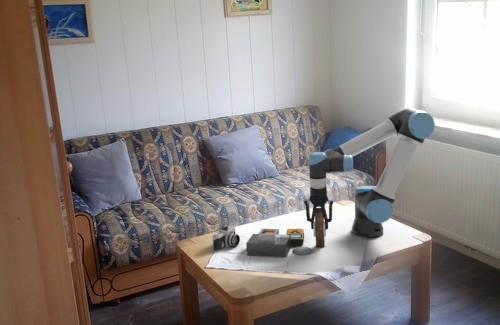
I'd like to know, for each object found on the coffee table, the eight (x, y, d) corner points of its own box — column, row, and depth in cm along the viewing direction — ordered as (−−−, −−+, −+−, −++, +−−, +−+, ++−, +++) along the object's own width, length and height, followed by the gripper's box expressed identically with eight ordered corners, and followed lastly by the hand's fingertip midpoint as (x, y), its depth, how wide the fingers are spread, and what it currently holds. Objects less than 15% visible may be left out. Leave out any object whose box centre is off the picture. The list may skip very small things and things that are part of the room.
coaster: (314, 247, 242) (314, 247, 242) (311, 255, 234) (311, 254, 234) (294, 247, 245) (294, 246, 245) (291, 254, 236) (291, 253, 236)
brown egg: (274, 242, 242) (274, 232, 241) (272, 246, 238) (272, 235, 237) (265, 242, 244) (265, 231, 243) (263, 245, 240) (262, 235, 238)
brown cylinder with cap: (325, 244, 245) (324, 207, 242) (324, 248, 242) (322, 210, 238) (316, 244, 247) (315, 207, 243) (315, 247, 243) (314, 210, 239)
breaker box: (291, 247, 245) (290, 227, 243) (286, 257, 234) (285, 237, 232) (254, 245, 250) (252, 226, 248) (247, 255, 239) (245, 235, 237)
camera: (225, 254, 242) (223, 233, 240) (210, 251, 247) (208, 230, 245) (244, 242, 255) (243, 223, 253) (230, 240, 260) (228, 220, 258)
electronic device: (304, 234, 260) (303, 227, 260) (304, 245, 245) (304, 238, 245) (286, 234, 261) (286, 227, 261) (286, 245, 246) (285, 238, 245)
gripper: (338, 184, 239) (339, 233, 244) (301, 184, 244) (303, 232, 249) (336, 189, 232) (337, 239, 237) (298, 188, 237) (300, 237, 242)
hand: (320, 235), depth 243 cm, fingers closed on brown cylinder with cap, 4 cm apart
